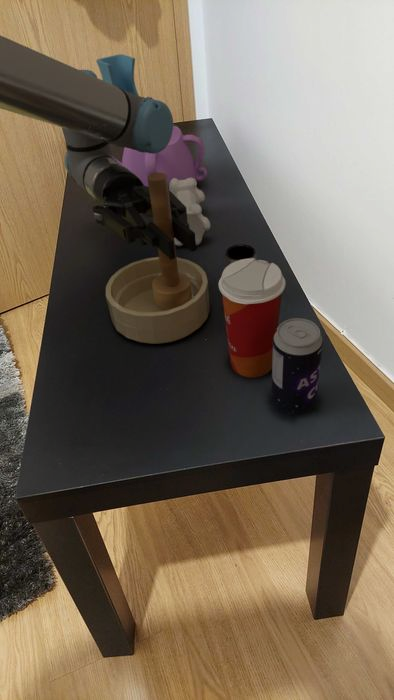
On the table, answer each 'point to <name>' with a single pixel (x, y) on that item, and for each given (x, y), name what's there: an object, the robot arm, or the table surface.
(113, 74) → the vase
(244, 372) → the coffee cup
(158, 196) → the brown tall rod post
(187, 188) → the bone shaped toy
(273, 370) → the beverage can
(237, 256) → the dark grey hollow cylinder
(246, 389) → the table surface
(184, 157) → the teapot
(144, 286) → the bowl
